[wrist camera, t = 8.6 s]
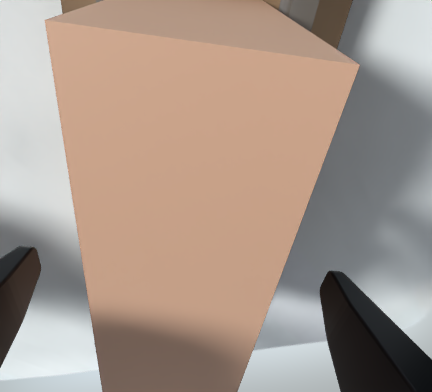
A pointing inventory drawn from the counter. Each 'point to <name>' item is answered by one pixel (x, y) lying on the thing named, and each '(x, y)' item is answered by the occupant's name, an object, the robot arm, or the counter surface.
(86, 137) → the door panel
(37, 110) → the counter surface
